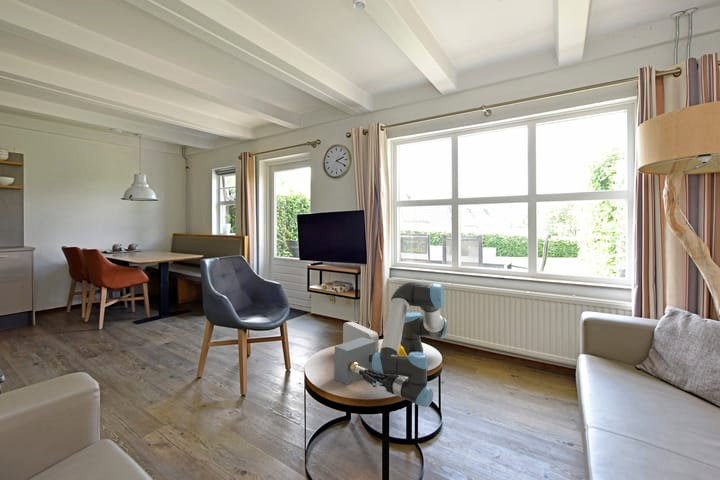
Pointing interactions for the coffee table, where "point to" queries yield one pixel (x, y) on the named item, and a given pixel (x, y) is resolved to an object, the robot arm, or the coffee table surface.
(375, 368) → the robot arm
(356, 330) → the rounded white slab
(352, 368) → the knob
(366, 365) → the knob housing
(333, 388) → the coffee table surface
